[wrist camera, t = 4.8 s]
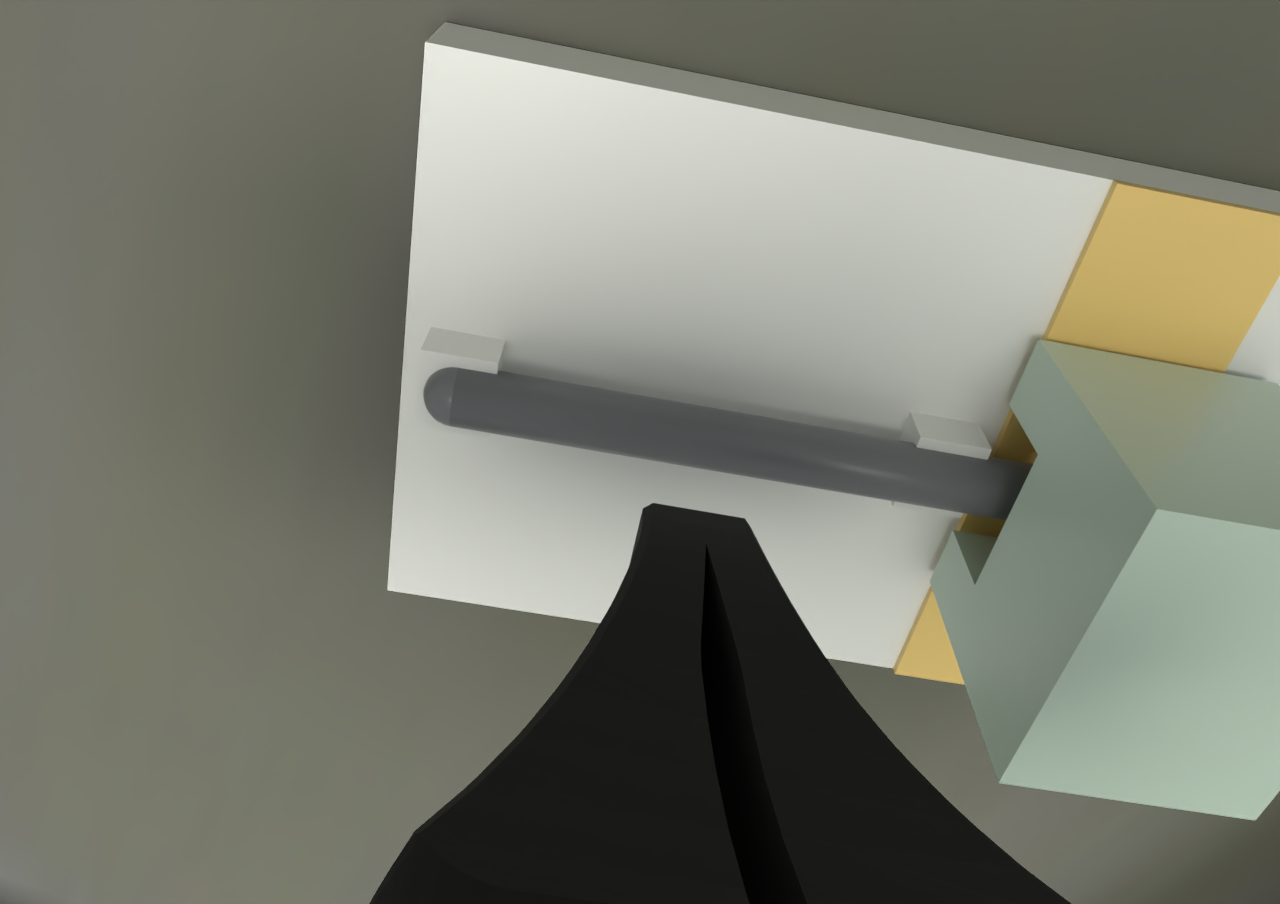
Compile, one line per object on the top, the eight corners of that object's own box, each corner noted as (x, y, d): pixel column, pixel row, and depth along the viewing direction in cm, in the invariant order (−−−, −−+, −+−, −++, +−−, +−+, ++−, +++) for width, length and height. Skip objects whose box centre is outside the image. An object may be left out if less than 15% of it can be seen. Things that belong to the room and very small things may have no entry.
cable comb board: (1537, 243, 17) (1753, 351, 13) (1233, 673, 22) (1333, 825, 19) (444, 21, 15) (384, 82, 12) (404, 541, 20) (354, 682, 17)
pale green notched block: (1276, 382, 16) (1466, 562, 12) (1135, 614, 19) (1255, 820, 15) (1038, 339, 16) (1157, 509, 12) (929, 581, 18) (998, 782, 15)
